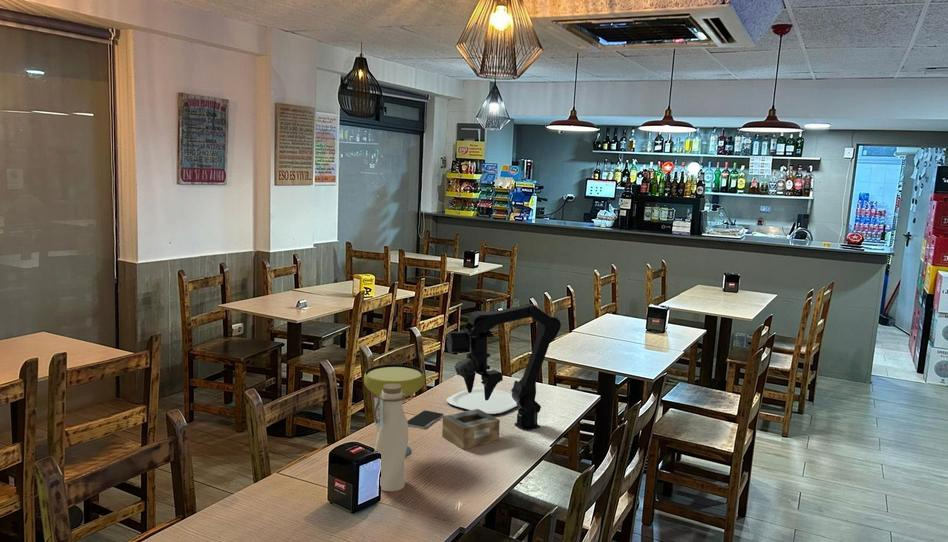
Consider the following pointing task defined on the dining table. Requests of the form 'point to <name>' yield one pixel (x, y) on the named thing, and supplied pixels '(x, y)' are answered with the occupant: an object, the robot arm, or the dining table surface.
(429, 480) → the dining table surface
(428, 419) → the smartphone
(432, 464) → the dining table surface
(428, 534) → the dining table surface
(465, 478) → the dining table surface
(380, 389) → the cocktail glass
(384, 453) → the water bottle
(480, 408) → the plate
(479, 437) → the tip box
